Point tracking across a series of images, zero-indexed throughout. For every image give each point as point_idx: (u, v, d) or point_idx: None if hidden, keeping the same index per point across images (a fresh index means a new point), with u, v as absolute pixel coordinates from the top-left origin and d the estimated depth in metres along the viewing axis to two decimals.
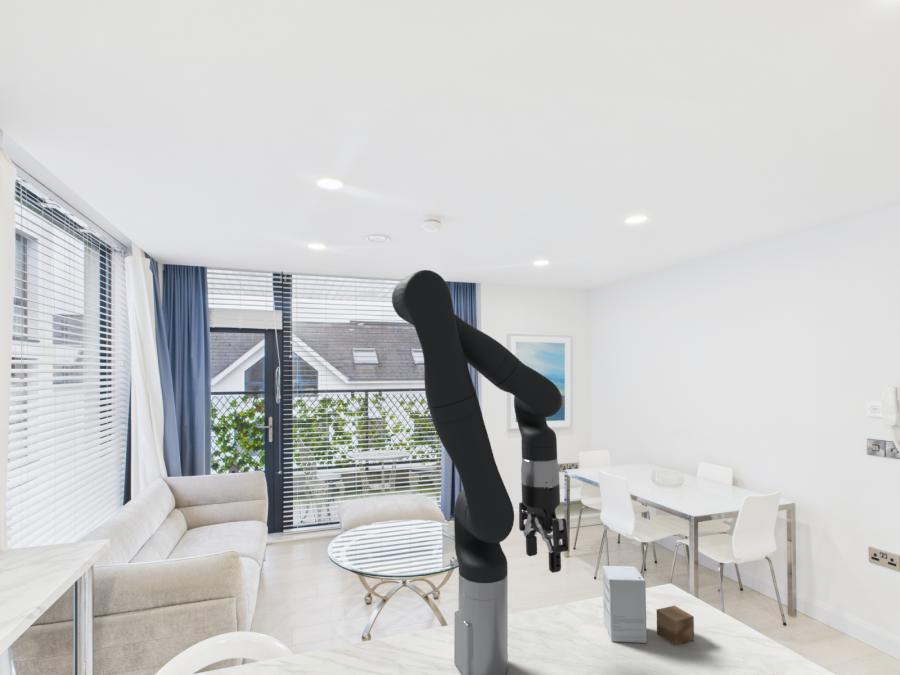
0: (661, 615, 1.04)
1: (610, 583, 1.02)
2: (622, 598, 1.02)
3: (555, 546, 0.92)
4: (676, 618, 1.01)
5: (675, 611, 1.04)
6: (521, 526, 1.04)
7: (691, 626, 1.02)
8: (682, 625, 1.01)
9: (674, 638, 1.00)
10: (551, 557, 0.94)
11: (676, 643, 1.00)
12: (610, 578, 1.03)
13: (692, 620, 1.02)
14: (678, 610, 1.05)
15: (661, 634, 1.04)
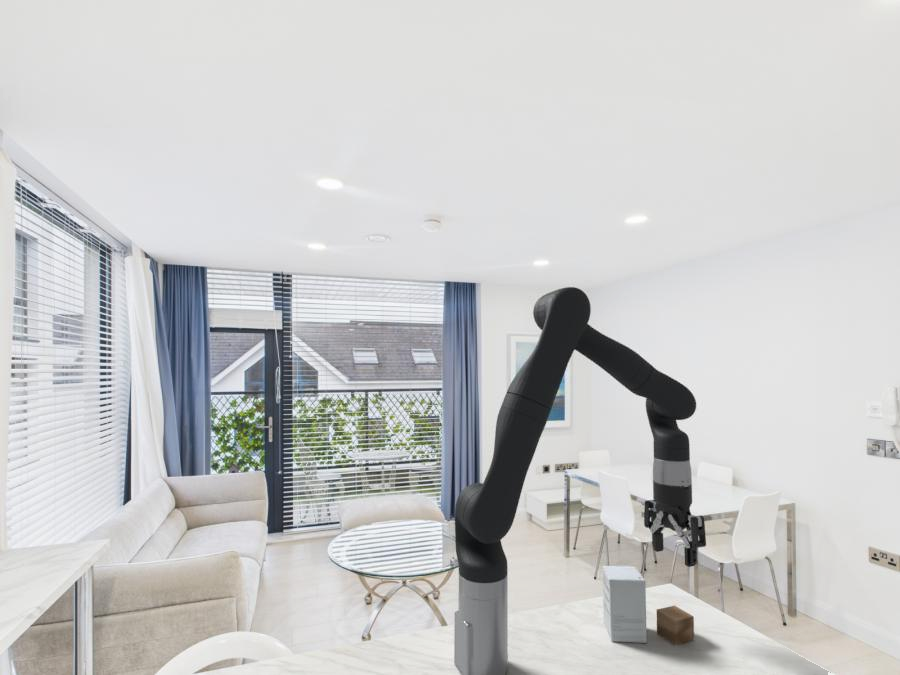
0: (661, 615, 1.04)
1: (610, 583, 1.02)
2: (622, 598, 1.02)
3: (694, 541, 0.98)
4: (676, 618, 1.01)
5: (675, 611, 1.04)
6: (647, 523, 1.10)
7: (691, 626, 1.02)
8: (682, 625, 1.01)
9: (674, 638, 1.00)
10: (687, 552, 1.00)
11: (676, 643, 1.00)
12: (610, 578, 1.03)
13: (692, 620, 1.02)
14: (678, 610, 1.05)
15: (661, 634, 1.04)
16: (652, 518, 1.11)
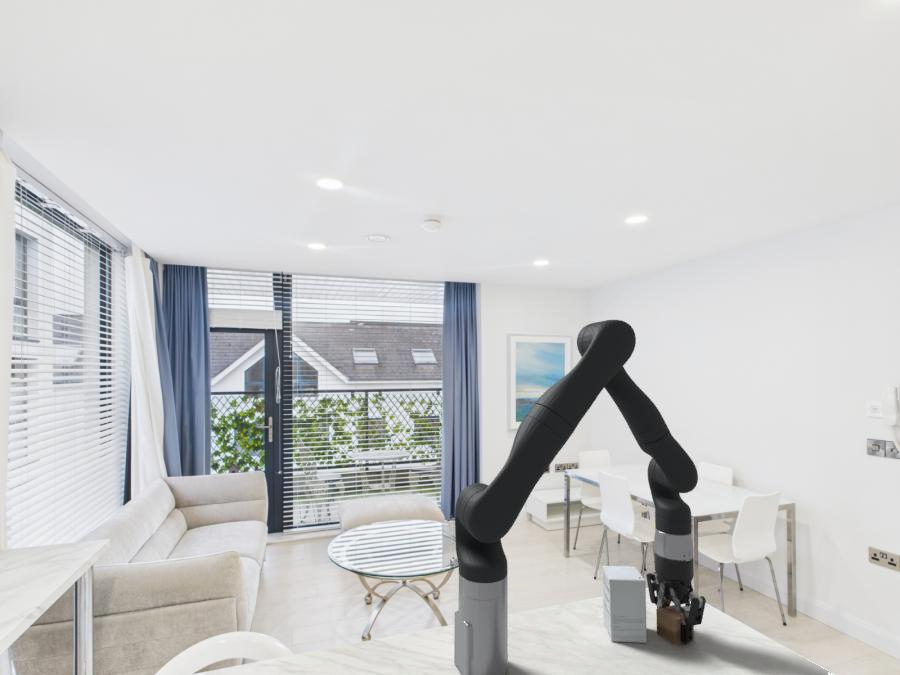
0: (661, 614, 1.04)
1: (610, 583, 1.02)
2: (622, 598, 1.02)
3: (690, 619, 0.98)
4: (676, 617, 1.01)
5: (675, 610, 1.04)
6: (653, 598, 1.08)
7: None
8: None
9: (674, 637, 1.00)
10: (683, 629, 1.00)
11: (676, 642, 1.00)
12: (610, 578, 1.03)
13: None
14: None
15: (661, 633, 1.04)
16: (657, 593, 1.09)
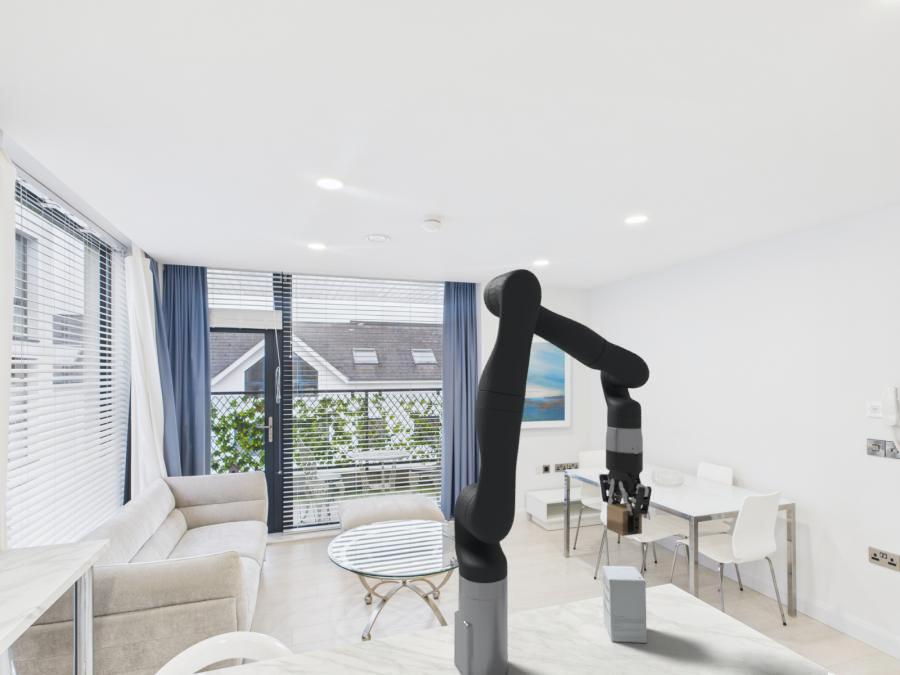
0: (611, 509, 1.06)
1: (610, 583, 1.02)
2: (622, 598, 1.02)
3: (636, 508, 1.01)
4: (624, 510, 1.04)
5: (625, 506, 1.06)
6: (604, 497, 1.10)
7: (639, 518, 1.04)
8: None
9: (621, 528, 1.03)
10: (630, 519, 1.03)
11: (623, 533, 1.02)
12: (610, 578, 1.03)
13: None
14: None
15: (610, 527, 1.06)
16: None
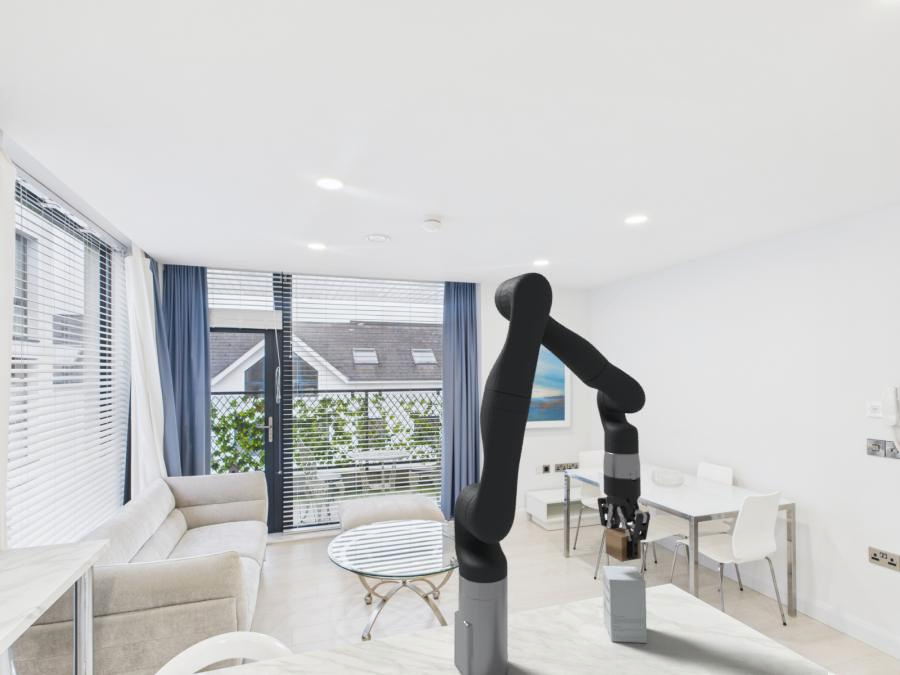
0: (609, 534, 1.06)
1: (610, 583, 1.02)
2: (622, 598, 1.02)
3: (635, 535, 1.01)
4: (623, 535, 1.04)
5: (623, 530, 1.06)
6: (603, 521, 1.10)
7: (638, 543, 1.04)
8: None
9: (620, 554, 1.03)
10: (629, 545, 1.02)
11: (622, 559, 1.02)
12: (610, 578, 1.03)
13: None
14: None
15: (609, 552, 1.06)
16: None
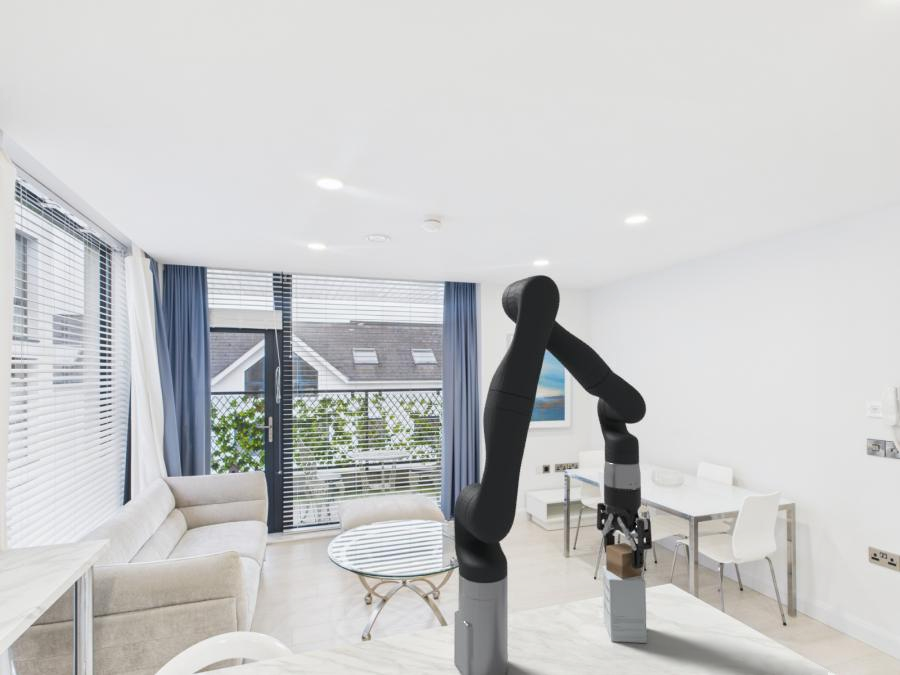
0: (610, 550, 1.06)
1: (610, 583, 1.02)
2: (622, 598, 1.02)
3: (640, 544, 0.99)
4: (623, 552, 1.03)
5: (624, 547, 1.06)
6: (599, 525, 1.11)
7: None
8: (629, 558, 1.03)
9: (621, 571, 1.02)
10: (634, 554, 1.01)
11: (623, 576, 1.02)
12: (610, 578, 1.03)
13: None
14: (627, 546, 1.07)
15: (610, 569, 1.06)
16: (605, 520, 1.12)
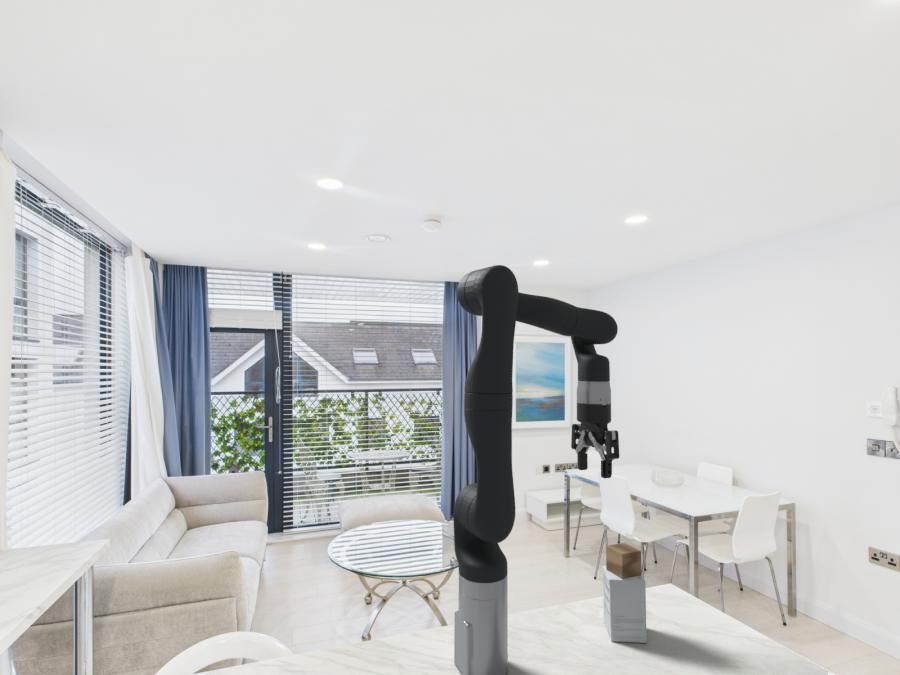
0: (610, 550, 1.06)
1: (610, 583, 1.02)
2: (622, 598, 1.02)
3: (608, 453, 1.05)
4: (623, 552, 1.03)
5: (624, 547, 1.06)
6: (573, 445, 1.17)
7: (639, 560, 1.04)
8: (629, 558, 1.03)
9: (621, 571, 1.02)
10: (603, 464, 1.07)
11: (623, 576, 1.02)
12: (610, 578, 1.03)
13: (639, 554, 1.04)
14: (627, 546, 1.07)
15: (610, 569, 1.05)
16: None
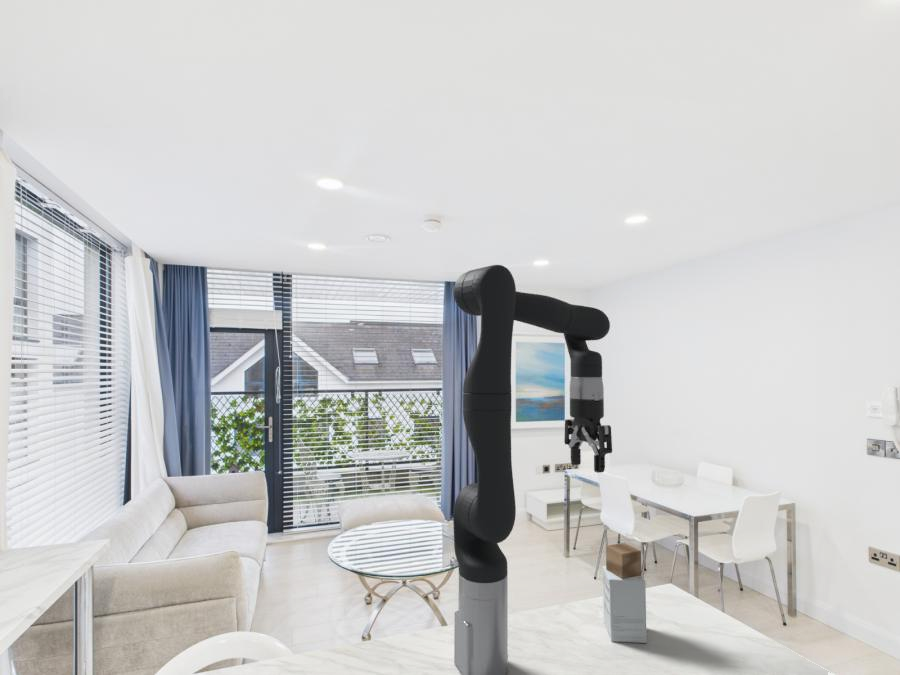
0: (610, 550, 1.06)
1: (610, 583, 1.02)
2: (622, 598, 1.02)
3: (601, 448, 1.07)
4: (623, 552, 1.03)
5: (624, 547, 1.06)
6: (566, 440, 1.18)
7: (639, 560, 1.04)
8: (629, 558, 1.03)
9: (621, 571, 1.02)
10: (596, 459, 1.08)
11: (623, 576, 1.02)
12: (610, 578, 1.03)
13: (639, 554, 1.04)
14: (627, 546, 1.07)
15: (610, 569, 1.06)
16: None
